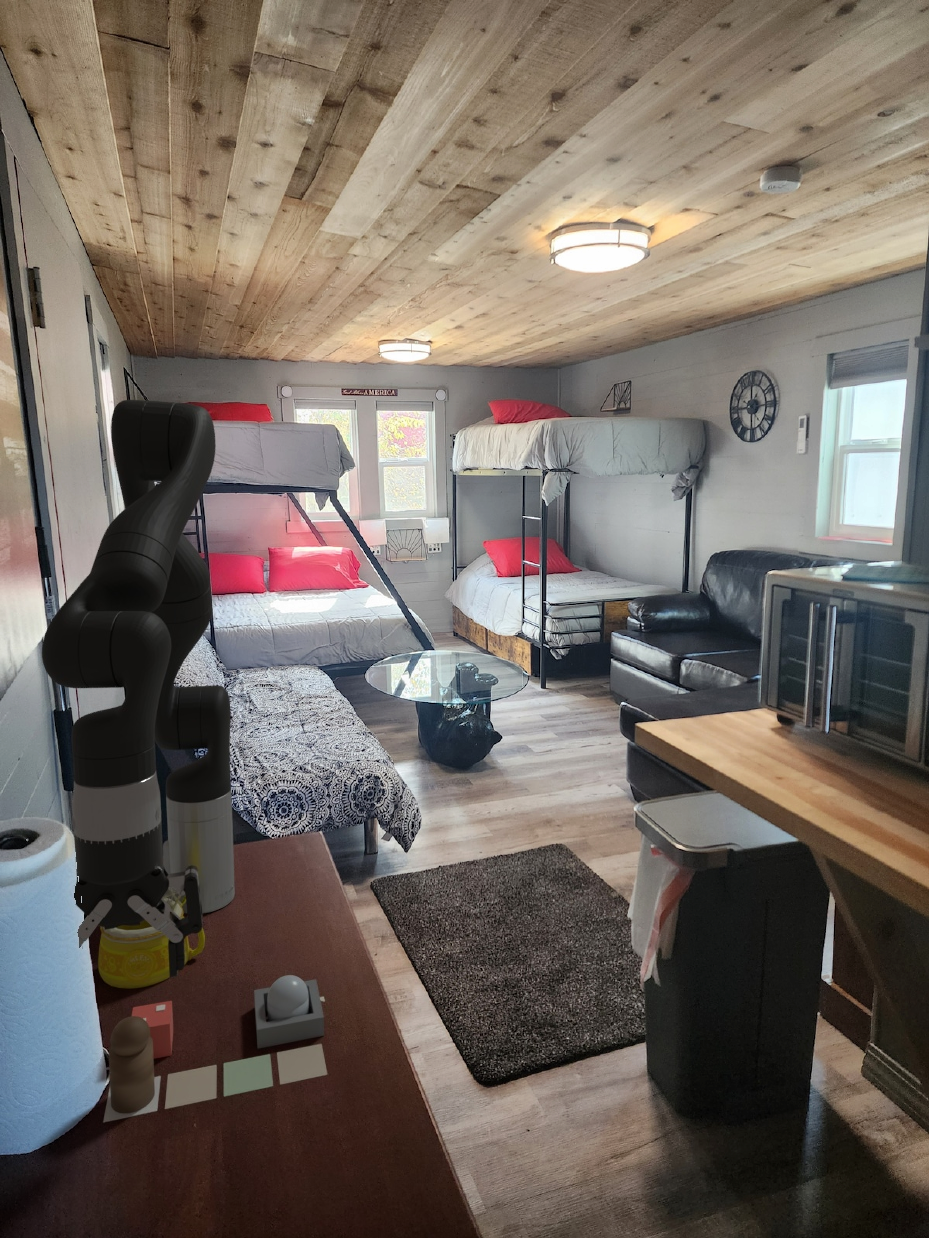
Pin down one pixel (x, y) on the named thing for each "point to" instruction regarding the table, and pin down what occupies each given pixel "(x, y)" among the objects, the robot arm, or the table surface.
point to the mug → (140, 952)
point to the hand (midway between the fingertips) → (126, 980)
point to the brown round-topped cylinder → (131, 1065)
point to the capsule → (287, 998)
